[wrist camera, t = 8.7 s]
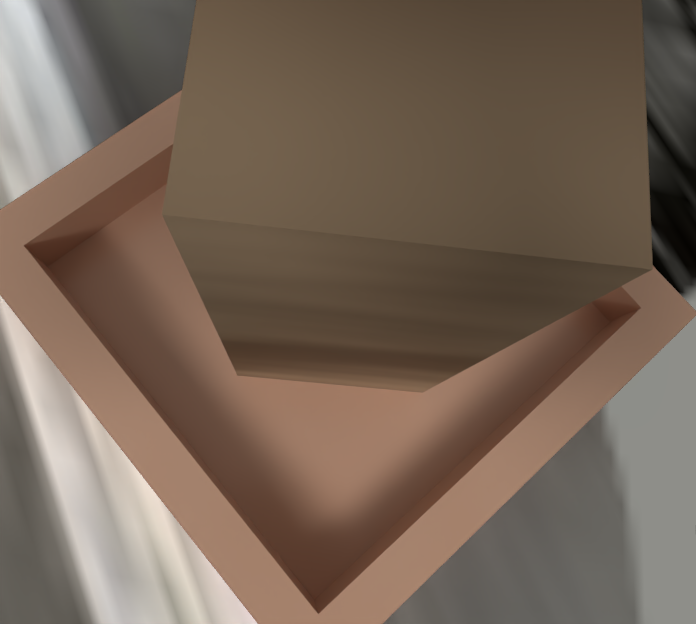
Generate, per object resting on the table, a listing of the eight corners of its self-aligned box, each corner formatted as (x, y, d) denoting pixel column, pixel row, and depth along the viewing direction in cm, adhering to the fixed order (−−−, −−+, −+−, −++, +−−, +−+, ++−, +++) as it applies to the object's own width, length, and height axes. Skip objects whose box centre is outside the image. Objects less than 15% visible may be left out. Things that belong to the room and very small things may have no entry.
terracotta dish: (651, 330, 17) (697, 313, 15) (308, 662, 14) (312, 692, 12) (359, 18, 19) (368, -34, 17) (-5, 266, 16) (-44, 238, 14)
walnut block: (422, 392, 16) (653, 270, 6) (237, 375, 15) (161, 214, 6) (430, 221, 17) (637, -119, 7) (258, 201, 16) (225, -185, 7)
